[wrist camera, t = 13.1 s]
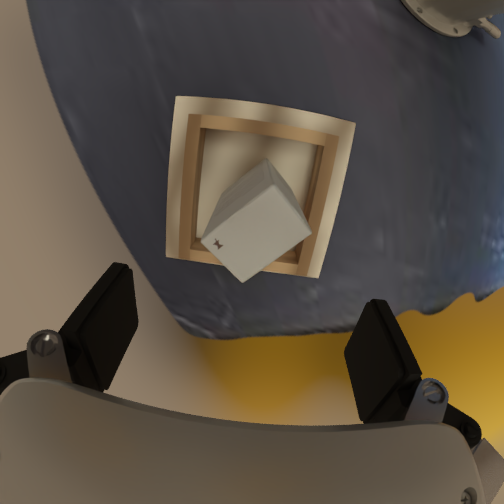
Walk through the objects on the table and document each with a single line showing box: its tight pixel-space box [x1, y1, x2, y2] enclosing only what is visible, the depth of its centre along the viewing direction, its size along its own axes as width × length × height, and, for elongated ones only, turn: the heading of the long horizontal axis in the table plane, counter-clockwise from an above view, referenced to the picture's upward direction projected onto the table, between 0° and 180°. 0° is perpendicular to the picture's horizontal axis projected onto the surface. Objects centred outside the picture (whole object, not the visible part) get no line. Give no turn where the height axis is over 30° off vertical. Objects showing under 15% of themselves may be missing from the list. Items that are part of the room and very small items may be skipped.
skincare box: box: [201, 158, 312, 283], centre depth 23 cm, size 6×4×12 cm
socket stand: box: [166, 96, 356, 278], centre depth 27 cm, size 18×18×4 cm
